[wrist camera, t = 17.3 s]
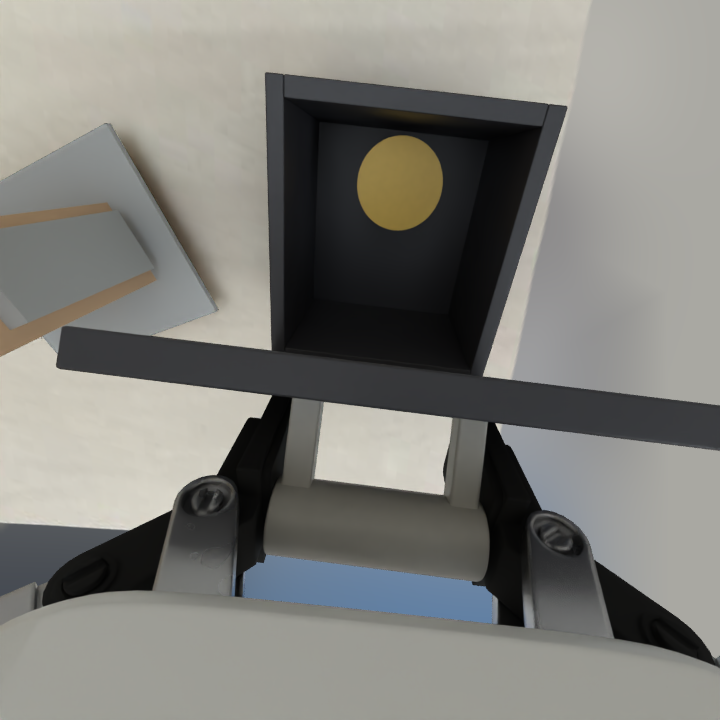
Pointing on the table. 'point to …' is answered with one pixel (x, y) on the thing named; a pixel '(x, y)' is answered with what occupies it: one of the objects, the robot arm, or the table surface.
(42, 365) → the table surface
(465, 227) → the dark grey hollow box
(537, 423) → the lid
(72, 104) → the table surface
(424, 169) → the cylinder
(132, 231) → the desk lamp
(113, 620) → the robot arm
